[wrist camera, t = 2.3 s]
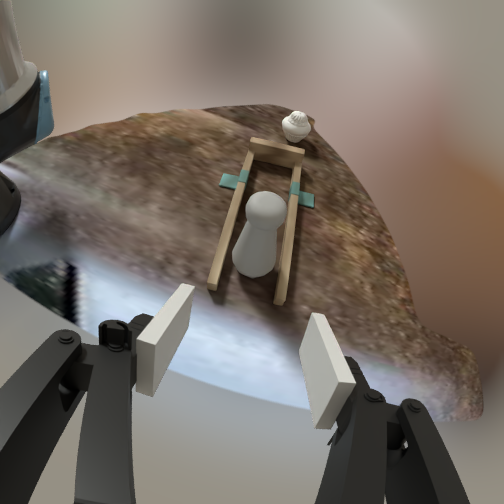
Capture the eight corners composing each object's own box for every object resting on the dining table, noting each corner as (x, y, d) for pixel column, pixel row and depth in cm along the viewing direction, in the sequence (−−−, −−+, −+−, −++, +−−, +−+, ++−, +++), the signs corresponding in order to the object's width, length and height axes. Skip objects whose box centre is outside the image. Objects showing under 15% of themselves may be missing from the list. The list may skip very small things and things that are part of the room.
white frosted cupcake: (308, 136, 59) (317, 111, 53) (303, 150, 55) (312, 123, 49) (282, 127, 59) (289, 102, 53) (275, 140, 56) (281, 113, 50)
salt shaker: (279, 274, 39) (307, 214, 28) (243, 290, 37) (258, 233, 26) (258, 242, 41) (276, 177, 30) (223, 256, 39) (230, 190, 28)
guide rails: (184, 283, 36) (182, 268, 33) (233, 150, 52) (235, 133, 49) (304, 310, 37) (314, 298, 33) (314, 169, 52) (320, 153, 49)
